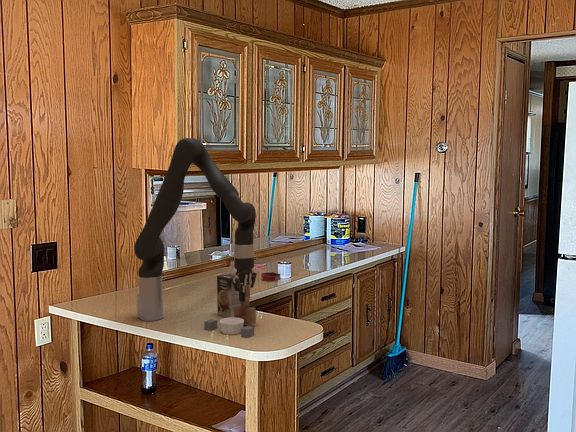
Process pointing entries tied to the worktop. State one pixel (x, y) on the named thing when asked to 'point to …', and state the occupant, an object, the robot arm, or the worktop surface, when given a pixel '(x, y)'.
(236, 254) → the robot arm
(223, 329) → the ramekin
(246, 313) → the stepped wooden block
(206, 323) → the slate blocks
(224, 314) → the coffee box
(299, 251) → the worktop surface
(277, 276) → the red and clear container
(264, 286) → the worktop surface
